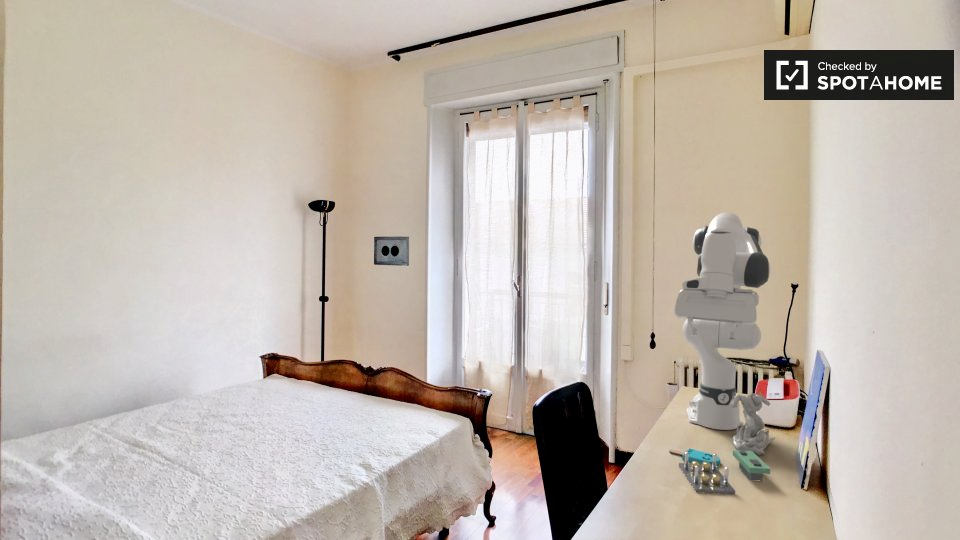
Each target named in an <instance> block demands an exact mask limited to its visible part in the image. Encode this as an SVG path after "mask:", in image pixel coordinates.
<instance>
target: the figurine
mask: <svg viewBox="0 0 960 540" xmlns="http://www.w3.org/2000/svg"><path fill="white" fill-rule="evenodd" d="M732 396H734V394H733V395H732ZM732 400H733V403H731V406H732V407H734V408H735V406H736V408H737V403H738V402H739V403H741V405H742V406H741V407H742V409H743V411H742V413H743V417H744V419H745V422H744V423H743V424H744V425H743V424H742V423H741V422H740V425H741V426H740V427H737V428H736V434H735V435H733V436H732V443H733V446H734V447H735V450H741V451H752V452H754V453H755V454H757V456H761V455H764V454H765V449H766V448H767V446H768V445H769V444H770V443H771V442H772V441H774V439H776V437H770V433H769V432H770V429H768V428H765V427H766V426H765V422H764V421H763V418H762V417H761V416H760V415H758V414H757V412H759V411H760V410H761V409H762V407H763V404H764V405H766V406H768V407H769V406H770V405H771V403H770V401H769V400H767V399H766V397H765V396H764V395H763V394H762V393H761V390H759V394H756V393H755V392H754V393H750V394H746V395H743V394H736V396H734V397H732ZM764 428H765V429H764Z"/></svg>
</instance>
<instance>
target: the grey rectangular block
mask: <svg viewBox="0 0 960 540" xmlns="http://www.w3.org/2000/svg"><path fill="white" fill-rule="evenodd" d="M738 464H739V465H738V469H739V470H740V469H741V470H740V471H741V472H742V473H743V474H744V475H745V476H746V478H747V479H749V481H751V480H761V481H760V482H762V481H763V479H762V478H763V474H759V473H749V472H748V471H747V470H746V469H745V468H744V467H743V466H742V465H741V464H740V462H739V461H738Z"/></svg>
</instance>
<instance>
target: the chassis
mask: <svg viewBox="0 0 960 540" xmlns="http://www.w3.org/2000/svg"><path fill="white" fill-rule="evenodd" d="M684 452H685V461H684V462H679V463H678V467H679V469H680V468H681V469H680V470H681V472H682V471H683V472H682V473H683V474H685V475H684V476H685V478H686V477H687V478H686V479H687V481H688V480H689V481H688V483H689V484H690V483H691V484H690V485H691V487H692V486H693V487H692V488H694V489H693V490H694V492H695V491H696V492H695V493H702V492H705V493H704V494H706V493H707V494H718V493H719V494H720V495H736V490H735V489H734V487H733V486H732V485H731V484H730V483H729V476H730V475H729V471H730V468H729V467H727V466H726V467H724V474H722V473H721V471H720V470H719V469H718V467H716V464H717V457H718V454H717V453H712V454H713V465H711V464H710V463H709V462H703V464H699V462H697V461H692V462H688V460H689V453H688V452H686V451H684Z"/></svg>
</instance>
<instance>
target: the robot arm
mask: <svg viewBox="0 0 960 540" xmlns="http://www.w3.org/2000/svg"><path fill="white" fill-rule="evenodd" d="M691 243H692V247H693V250H694V252H695V253H696V255H697V256H698V257H697V269H696V274H697V276H698V278H693V279H689V280H688V279H687V280H684V281H683V282H682V284H681V290H680V291H679V293H678V294H677V297H676V300H675V306H674V315H675V316H676V318H678V319H685V321H684V323H683V324H682V330H681V332H682V335H683V338H684V339H685V341H686V342H687V343H688V344H689V345H691V346H692V348H693V349H694V350H695V351H696V352H697V355H698V357H699V360H700V365H701V382H700V384H699V389H698V393H697V394H696V395H695V396H693V399H691V400H689V407H686V411H685V412H686V415H687V418H688V421H689V422H690V424H691V423H692V424H696V425H700V426H702V427H705V428H709V429H713V430H724V431H731V430H735V429H736V430H737V427H738V428H740V427H741V425H740V422H741V423H742V424H743V425H744V426H745V423H744V421H743V420H741V416H740V415H741V414H740V413H741V411H740V408H741V407H740V401H739V402H738V403H737V408H736V406H735V408H734V407H732V406H731V403H733V400H732V397H734V396H736V395H737V387H736V375H737V373H736V371H737V370H736V366H735V364H734V362H732V361H731V360H730V359H729V358H727V357H725V356H724V355H722V354H720V351H719V350H718V349H728V350H738V351H744V350H745V351H746V350H754V349H756V348H757V347H758V345H760V342H761V340H762V331H761V329H760V327H759V326H758V324H757V323H756V322H757V316H758V315H757V306H758V304H759V303H760V302H759V299H760V296H759V294H758V293H757V292H756V291H754V290H753V289H744V288H741V287H747V288H755V289H758V288H760V287H762V286H763V285H765V284H766V283H767V282H769V278H770V275H771V264H770V262H769V257H767V255H765V254H764V252H763V251H762V249H761V246H762V237H761V235H760V231H759V230H758V229H757V228H753V227H749V226H747V227H744V226H743V223H742V221H741V219H740V218H739V216H738V215H736V214H735V213H733V212H730V211H729V212H728V211H726V212H725V211H724V212H721V213H718V214H717V215H716V216H714V217H713V219H712V220H711V221H710V222H709V225H707V224H706V225H704V226H703V227H699V228H698V229H697V230H696V231H695V233H694V235H693V237H692V242H691ZM733 394H734V396H732V395H733Z"/></svg>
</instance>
